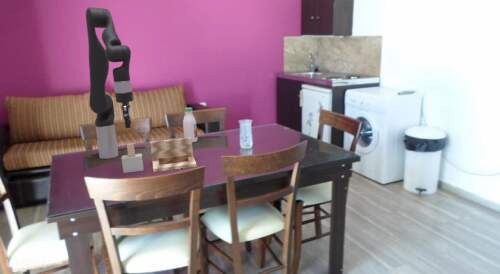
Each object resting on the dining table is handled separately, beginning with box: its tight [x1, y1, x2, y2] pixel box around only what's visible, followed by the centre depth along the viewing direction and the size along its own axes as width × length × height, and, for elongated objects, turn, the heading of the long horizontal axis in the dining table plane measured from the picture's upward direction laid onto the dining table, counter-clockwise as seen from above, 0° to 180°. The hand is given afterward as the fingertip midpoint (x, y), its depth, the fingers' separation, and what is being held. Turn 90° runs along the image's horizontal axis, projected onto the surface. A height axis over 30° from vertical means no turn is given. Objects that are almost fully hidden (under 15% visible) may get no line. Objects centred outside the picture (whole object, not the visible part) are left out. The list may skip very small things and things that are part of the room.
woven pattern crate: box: [149, 137, 197, 173], centre depth 187 cm, size 20×14×11 cm
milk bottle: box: [182, 106, 199, 144], centre depth 226 cm, size 8×8×20 cm
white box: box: [121, 142, 144, 174], centre depth 182 cm, size 9×5×13 cm, turn 105°
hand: (128, 126), depth 178 cm, fingers open, 8 cm apart
